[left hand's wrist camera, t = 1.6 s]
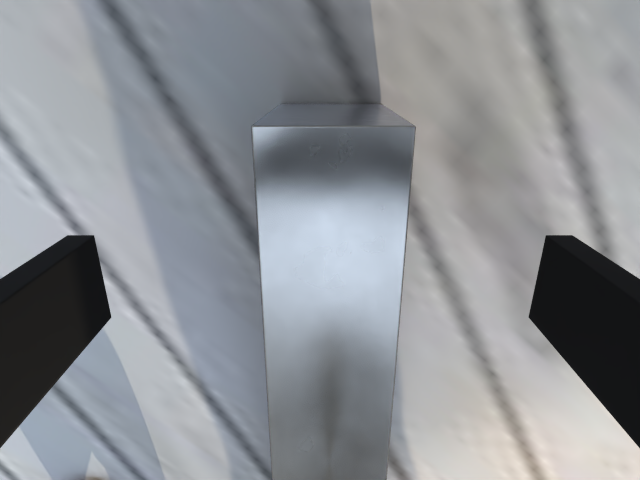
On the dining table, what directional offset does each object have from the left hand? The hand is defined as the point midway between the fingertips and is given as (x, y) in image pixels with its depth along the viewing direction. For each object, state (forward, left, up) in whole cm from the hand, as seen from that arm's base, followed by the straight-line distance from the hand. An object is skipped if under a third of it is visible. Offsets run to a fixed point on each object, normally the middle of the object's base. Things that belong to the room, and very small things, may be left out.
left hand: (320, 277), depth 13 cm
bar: (+2, +8, -9) cm, 12 cm away
